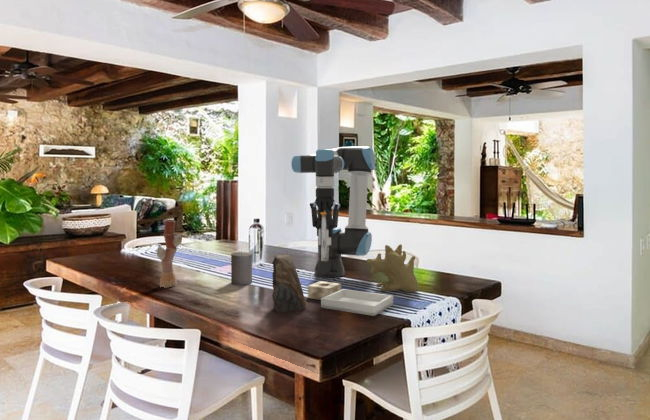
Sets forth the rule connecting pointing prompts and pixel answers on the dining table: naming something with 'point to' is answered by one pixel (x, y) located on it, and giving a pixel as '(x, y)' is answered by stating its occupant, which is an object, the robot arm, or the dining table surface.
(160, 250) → the abstract sculpture
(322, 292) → the pin block
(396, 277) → the decorative coral
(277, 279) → the brown rock
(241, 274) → the pillar candle
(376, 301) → the tray
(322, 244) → the steel pin
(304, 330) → the dining table surface
